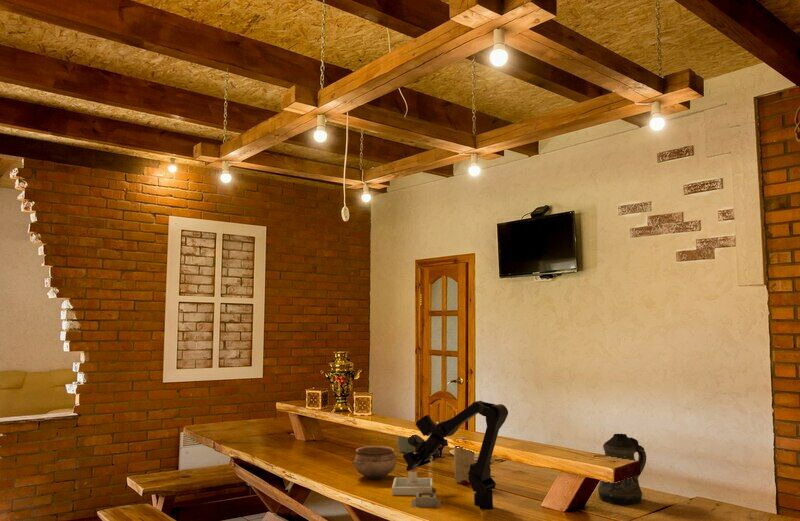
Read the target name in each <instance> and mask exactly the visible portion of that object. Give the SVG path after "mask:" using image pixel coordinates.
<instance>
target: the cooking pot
mask: <svg viewBox="0 0 800 521" xmlns="http://www.w3.org/2000/svg"><path fill="white" fill-rule="evenodd" d="M355 451H356V454H355V456H354V460H352V461H351V464H353V465H354V468H355V470H356V471H357V472H358V473H359V474H360V475H362V476H363V477H366V478H367V479H369V480H381V479H383V478H384V477H386V476H388V475H390V473H392V472H393V471H394V470H395V468H396V465H397V457H398V454H397V453H394V451H395V448H393V447H390V446H383V445H368V446H360V447H358V448H356V449H355Z"/></svg>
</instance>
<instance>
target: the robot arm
mask: <svg viewBox="0 0 800 521" xmlns="http://www.w3.org/2000/svg"><path fill="white" fill-rule="evenodd" d="M478 414H479V415H480V416H483V417H485V423H486V428H485V432H484V435H483V439H482V444H481V446H480V451H479V454H478V457H477V460H476V462H475V463H473V464H471V465H470V470H469V473H468V474H469V477H468V479H469V481H470V483H471V484H470V485H471V489H472V492H474V493H473V504H474V506H476V507H477V506H478V507H479V510H493V509H494V500H493V493H494V492H493V491H494V489H496V485H497V483H496V481H495V480H494V479H493V478H492V476H491V471H492V470H491V465H490V463H491V460H492V456H493V452H494V449H495V445H496V442H497V439H498V435H499V432H500V429H501V427H502V426H503V424H505V422H506V420H507V417H508V416H509V410H508V408H507V406H506V405H504V404H503V403H499V404H495V403H489V402H486V401H482V400H476V401H473V402H472V403H471V404H470V405H469V406H467V407H466V408H464V409H463V410H461V411H460V412H459V413H457V414H456V415H454V416H453V417H451V418H449V419H447V420H443V421H441V422H439V423H437V424H435V423H434V421H433V420H432V418H431V417H430V415H429V414H425V415H424V416H423V417H421V418H420V419H418V420H417V421H415V426H416V427H417V429H418V430H419V431H420V433H421V434H422V436H426V437H427V439H426V440H425V439H423V438H422V437H421V436H420V435H418V434H415V435H412V436H411V437H409V439H408V444H410V445H411V446H413V447H414V452H413V451H409V452H405V453H403V455H402V458H403V459H404V461H405V462H406V465H407V466H406V468H405V470H406V472H407V471H409V470H411V469H414V468H416V467H417V469H418V468H420V467H423V466H425V465H428V464H431V462H436V461H438V459H439V458H440V453H439V452H438V449H439V448H440V447H442V448H444V447H445V448H446V447H448V446H449V442H448V439H446V438H447V437H451V436H453V435H454V434H455V433H456V432H457V431H458V430H459V429H460V427H461V426H462V425H464V424H465V423H466V422H468V421H469V420H470V419H473V418H474V416H476V415H478ZM414 453H415V454H414ZM431 459H432V461H431Z"/></svg>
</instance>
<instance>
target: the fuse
mask: <svg viewBox="0 0 800 521" xmlns="http://www.w3.org/2000/svg"><path fill="white" fill-rule="evenodd" d="M413 453H414V454H415V453H416V452H413ZM407 475H408V476H407V478H408V485H409V486H417V485H418V481H417V478H418V468H417V467H416V468H414V469H411V470H409V471H408V472H407Z"/></svg>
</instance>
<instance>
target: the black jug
mask: <svg viewBox="0 0 800 521" xmlns="http://www.w3.org/2000/svg"><path fill="white" fill-rule="evenodd" d="M602 447H603V451H604V456H611V457H617V458H622V459H629V460H634V461H635V462H636V459H635V453H637V454H638V457H637V458H638V459H637V462H638V461H639V462H640V474H639V475H637V476H634V477H632V478H629V479H625V480H622V481H620V482H617V483H610V482H604V481H601V480H600V481H599V484H598V487H597V491H598V496H599V499H600V500H601V501H602V502H604V503H606V504H610V505H616V506H617V505H618V506H635V505H639V504H641V502H642V498H643V492H642V490H641V487H640V483H639V482H640V481H639V477H640V475H641V474H642V473H643V470H644V468H645V467H646V463H647V454H646V451H645V448H644V447H643V446H642V445H640V444H639V440H637V438H633V437H628V435H627V433H614V434H613V435H612V437H611V438H609V439H608V440H607V441H605V442H604V443H603V445H602Z"/></svg>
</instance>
